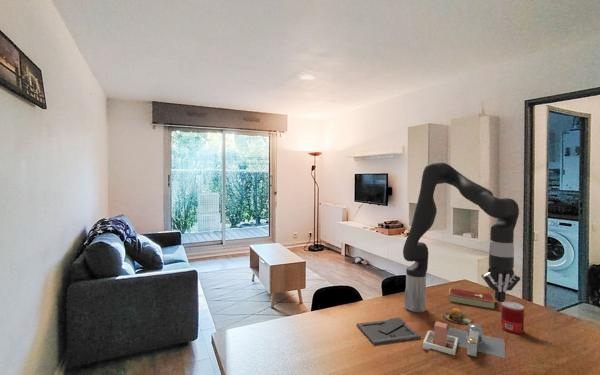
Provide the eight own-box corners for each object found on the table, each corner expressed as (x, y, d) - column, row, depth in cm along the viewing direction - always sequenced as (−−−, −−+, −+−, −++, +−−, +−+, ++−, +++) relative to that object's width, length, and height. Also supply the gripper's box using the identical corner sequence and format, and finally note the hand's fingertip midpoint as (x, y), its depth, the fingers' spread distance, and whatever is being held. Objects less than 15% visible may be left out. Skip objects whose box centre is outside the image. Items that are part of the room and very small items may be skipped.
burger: (477, 323, 141) (477, 307, 141) (462, 329, 135) (462, 312, 135) (452, 313, 151) (452, 298, 151) (437, 319, 145) (437, 303, 145)
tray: (422, 348, 119) (423, 342, 119) (428, 336, 129) (428, 330, 128) (454, 357, 113) (454, 350, 113) (458, 344, 123) (458, 337, 123)
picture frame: (399, 321, 143) (356, 327, 138) (399, 317, 143) (356, 322, 138) (420, 339, 127) (373, 346, 122) (420, 334, 127) (373, 341, 122)
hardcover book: (449, 294, 176) (449, 287, 176) (492, 301, 166) (493, 293, 166) (448, 302, 165) (448, 294, 165) (495, 310, 156) (495, 301, 156)
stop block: (433, 345, 120) (434, 325, 120) (435, 341, 124) (436, 321, 124) (445, 348, 118) (445, 328, 118) (446, 344, 122) (447, 323, 121)
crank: (468, 334, 128) (468, 320, 128) (482, 337, 125) (482, 323, 125) (463, 354, 113) (464, 338, 113) (479, 358, 111) (479, 342, 111)
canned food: (527, 335, 130) (527, 309, 129) (505, 333, 131) (506, 307, 131) (518, 326, 137) (518, 302, 137) (498, 325, 139) (498, 300, 138)
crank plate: (444, 344, 122) (444, 342, 122) (449, 329, 135) (449, 326, 135) (505, 361, 111) (505, 358, 111) (504, 342, 124) (504, 339, 124)
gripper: (488, 256, 109) (487, 305, 109) (527, 256, 108) (525, 305, 109) (477, 251, 116) (475, 296, 117) (513, 251, 116) (512, 297, 116)
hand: (500, 301), depth 113 cm, fingers closed
